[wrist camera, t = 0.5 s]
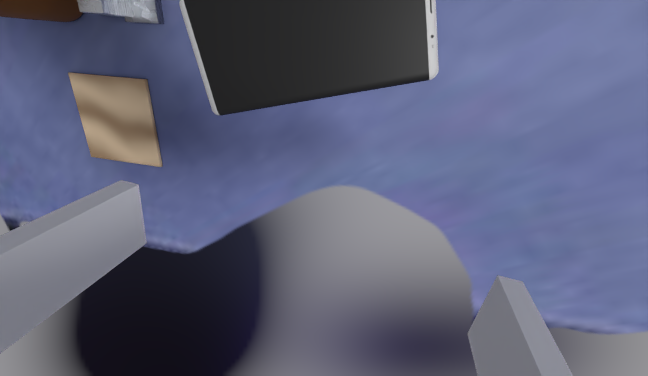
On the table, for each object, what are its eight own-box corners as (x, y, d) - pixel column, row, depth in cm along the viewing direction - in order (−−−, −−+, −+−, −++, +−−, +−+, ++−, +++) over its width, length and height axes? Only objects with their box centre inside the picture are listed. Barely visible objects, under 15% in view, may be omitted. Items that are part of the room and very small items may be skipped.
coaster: (70, 72, 41) (68, 72, 41) (147, 79, 39) (144, 79, 39) (93, 155, 46) (91, 156, 46) (162, 166, 44) (160, 166, 44)
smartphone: (184, -1, 35) (174, -4, 33) (430, -77, 27) (432, -84, 26) (219, 114, 40) (212, 117, 38) (437, 77, 32) (439, 78, 31)
